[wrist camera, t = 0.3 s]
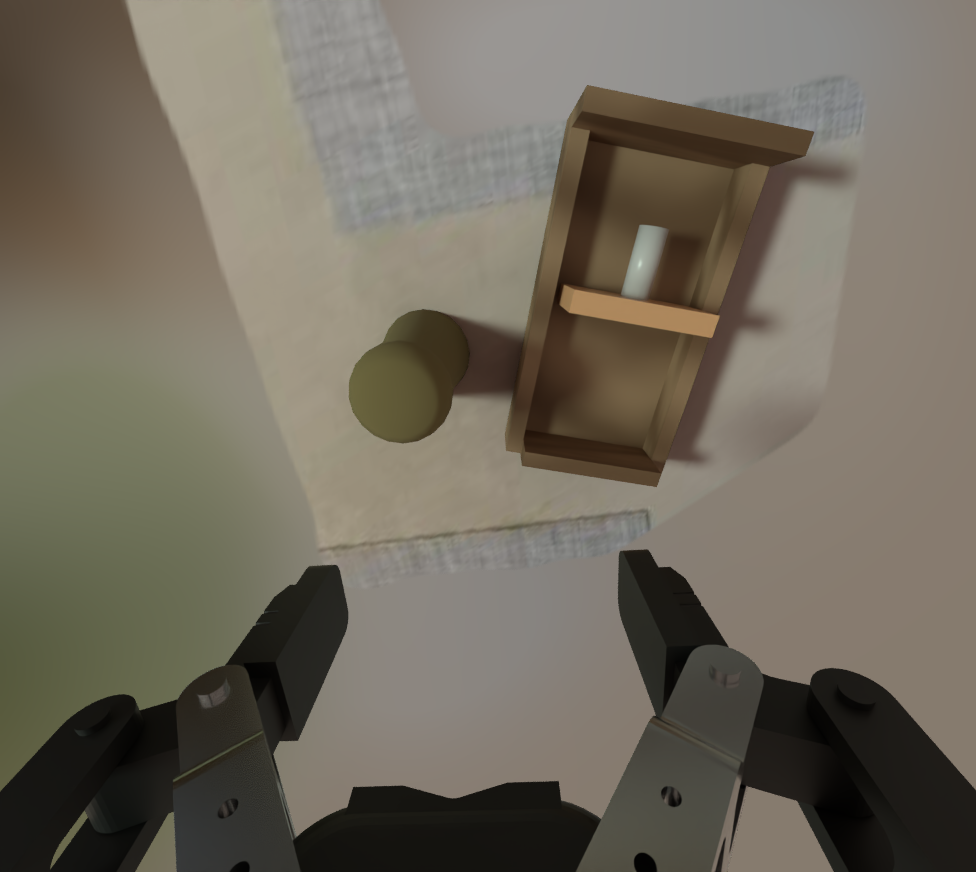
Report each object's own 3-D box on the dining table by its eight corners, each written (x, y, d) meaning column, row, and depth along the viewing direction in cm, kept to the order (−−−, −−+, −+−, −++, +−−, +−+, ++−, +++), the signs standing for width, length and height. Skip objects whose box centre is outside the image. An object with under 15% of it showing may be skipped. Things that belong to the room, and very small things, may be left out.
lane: (567, 119, 26) (587, 85, 21) (748, 156, 27) (814, 131, 21) (505, 434, 34) (507, 470, 28) (647, 457, 34) (677, 496, 29)
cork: (468, 308, 30) (455, 337, 20) (470, 394, 33) (461, 460, 23) (378, 310, 31) (321, 340, 20) (387, 396, 33) (340, 461, 23)
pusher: (575, 217, 27) (592, 210, 22) (704, 241, 28) (746, 239, 23) (557, 302, 29) (568, 312, 24) (677, 324, 29) (712, 337, 25)
